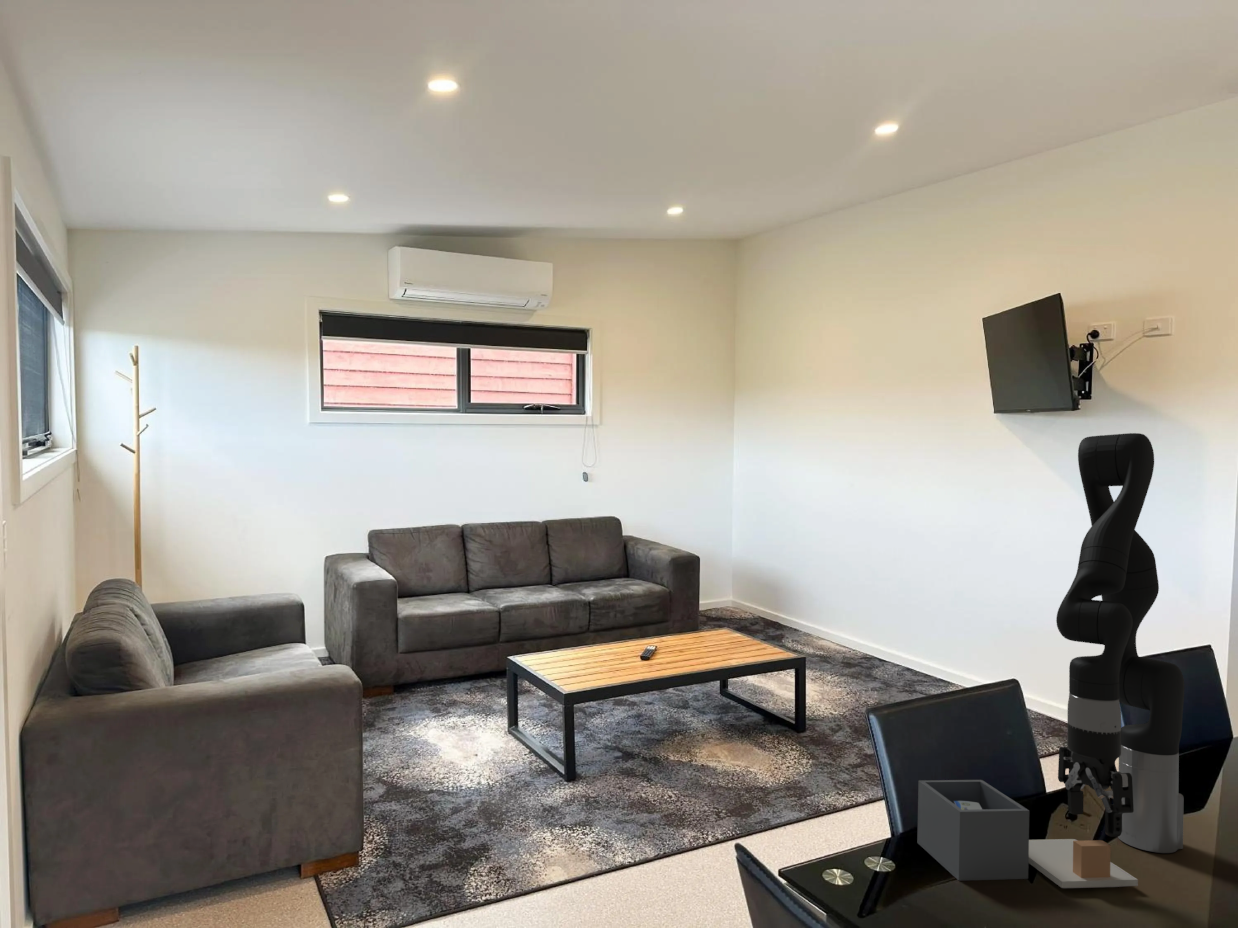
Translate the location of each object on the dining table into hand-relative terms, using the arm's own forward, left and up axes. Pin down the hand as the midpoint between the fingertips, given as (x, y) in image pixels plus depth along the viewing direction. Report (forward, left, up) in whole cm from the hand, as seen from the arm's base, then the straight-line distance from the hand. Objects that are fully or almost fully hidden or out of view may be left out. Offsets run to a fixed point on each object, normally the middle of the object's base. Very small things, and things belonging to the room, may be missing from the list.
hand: (1093, 823), depth 132 cm
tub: (+15, -10, -10) cm, 21 cm away
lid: (+1, -5, -10) cm, 11 cm away
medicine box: (+15, -10, -10) cm, 21 cm away
